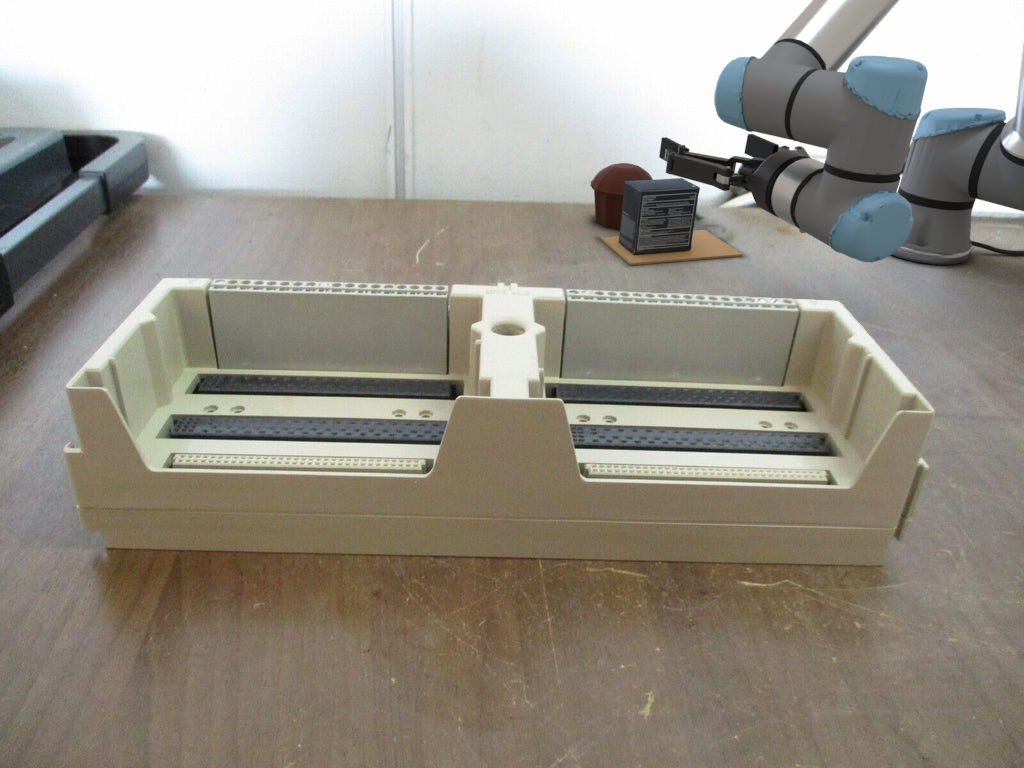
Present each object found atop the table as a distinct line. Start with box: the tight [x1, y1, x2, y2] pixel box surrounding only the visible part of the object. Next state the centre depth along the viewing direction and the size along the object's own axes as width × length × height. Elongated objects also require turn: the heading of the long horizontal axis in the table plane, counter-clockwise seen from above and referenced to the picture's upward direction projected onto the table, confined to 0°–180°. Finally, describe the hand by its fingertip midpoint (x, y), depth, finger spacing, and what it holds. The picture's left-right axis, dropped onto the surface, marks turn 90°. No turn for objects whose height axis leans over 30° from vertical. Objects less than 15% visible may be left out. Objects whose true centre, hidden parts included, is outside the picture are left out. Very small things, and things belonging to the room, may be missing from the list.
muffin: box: [590, 162, 654, 230], centre depth 135 cm, size 12×11×10 cm
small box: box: [618, 177, 701, 255], centre depth 123 cm, size 11×6×10 cm, turn 107°
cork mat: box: [600, 229, 743, 266], centre depth 127 cm, size 20×12×1 cm, turn 107°
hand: (706, 145), depth 108 cm, fingers open, 13 cm apart
